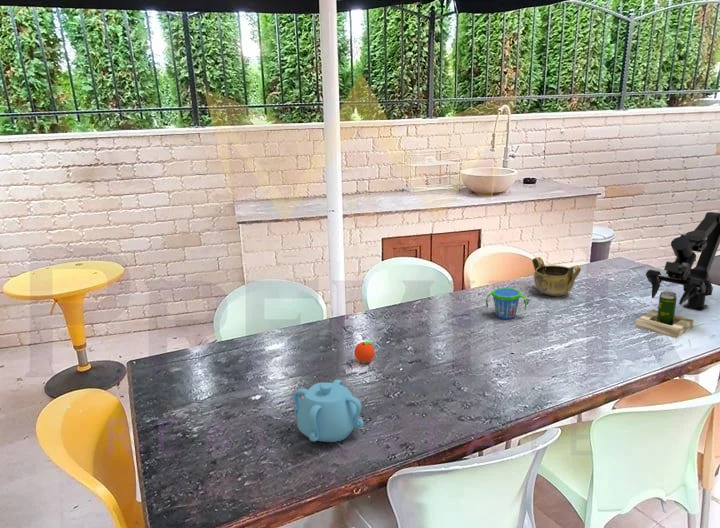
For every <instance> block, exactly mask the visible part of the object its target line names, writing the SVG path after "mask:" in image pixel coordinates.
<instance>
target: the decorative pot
mask: <svg viewBox="0 0 720 528" xmlns="http://www.w3.org/2000/svg"><path fill="white" fill-rule="evenodd" d="M300 394H302V395H303V398H302V400H301V397H300ZM293 400H294V403H295V406H296V408H294V412H293V413H294V416H295V417H297V418H296V424H297V425H296V426H297V428H298V430H299V431H300V432H301V433H302V434H303V435H304V436H305V437H307V438H309V440H310V441H311V442H317V441H319V442H324V443H326V442H327V443H333V442H336V443H338V442H337V441H339V442H340V441H344V440H345V439H346V438H347V437H349V436H350V435H351V433H352V432H353V430H354V429H357V430H358V429H363V426H364V425H365V424H364V423H365V422H364V420H363V419H362V418H359V417H360V415H361V412H362V406H363V405H362V402H361V401H360V399H359V398H358V397H355V395H353V394H352V393H351V391H350V390H349V388H348V387H346V386H344V383H343V380H341V379H334V380H333V381H332V382H317V383H314V384H313V385H312V386H310V387H309V388H308V389H307V388H303V387H302V388H299V389H297V390H296V391H295V392H294V393H293Z"/></svg>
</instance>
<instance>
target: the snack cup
mask: <svg viewBox="0 0 720 528" xmlns="http://www.w3.org/2000/svg"><path fill="white" fill-rule="evenodd" d="M490 296H492V299H493V302H494V303H493V304H494V308H495V316H496V317H498V318H500V319H503V320H507V319H509V320H511V319H513V318H515V317H516V316H517V311H518V307H519V306H518V305H519V299H520V298H522V299H524V311H526V309H527V305H528V301H527V297H526V296H525V294H524V293H523V294H522V293H521V292H520V290H518V289H515V288H509V287H502V288H496V289H494V290H493V291H491V292H489V293H488V294H487V296H486V299H485V306H486V308H489V303H488V302H489V301H488V298H490Z"/></svg>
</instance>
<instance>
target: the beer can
mask: <svg viewBox="0 0 720 528" xmlns="http://www.w3.org/2000/svg"><path fill="white" fill-rule="evenodd" d="M677 299H678V297H677V293H675V292H674V291H673V292H672V291H661V292H660V294H659V298H658V307H657V311H658V314H657V322H660V323H663V324H667V325H671V326H672V325H673V323H674V315H676V314H675V313H676V305H677Z"/></svg>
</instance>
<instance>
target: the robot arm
mask: <svg viewBox="0 0 720 528" xmlns="http://www.w3.org/2000/svg"><path fill="white" fill-rule="evenodd" d="M719 246H720V212H715V211H714V212H713V211H708V212H706V213H705V216H704V218H703V219H702V220H701V222H700V223H698V225H697V226H696V228H695V229H694V230H691V231H688V232H686V233H685V234H680V236H678V237H675V238H674V239H673V240H671V242H670V247H671V249H672V251H673V254H674V256H675V260H674V261H672V262H671V261H665V266H664V269H663V270H664V271H665V274H666V275H663V274H662V273H661V271H660V270H656V269H652V268H651V269H648V270H647V271H646V272H645V276H646V279H647V281H648V282H649V283H650V284H651V298H652V299H654V298H656V297H655V296H656V295H657V293H658V290H659V289H660V287H661V283H662V282H667V283H672V284H676V285H682V286H683V287H682V288H683V293H682V296H681V297H680V299H679V302H678V304H679V305H681V306H682V304H683V308H688V309H692V310H696V311H701V312H702V311H703V310H705V309H706V308H708V305H707V304H705V302H706V298H707V297H708V296H713V295H712V294H713V290H714V288H713V287H714V286H713V284H712V277H711V276H710V270H711V267H712V265H713V262H714V259H715V257H716V254H717V251H718V249H719ZM695 252H697V253H700V256H699V258H698V259H697V255H696V253H695ZM696 261H697V263H696V264H695V265H696V266H695V267H693V265H694V263H695V262H696ZM685 302H687V303H685ZM684 303H685V304H684Z"/></svg>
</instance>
